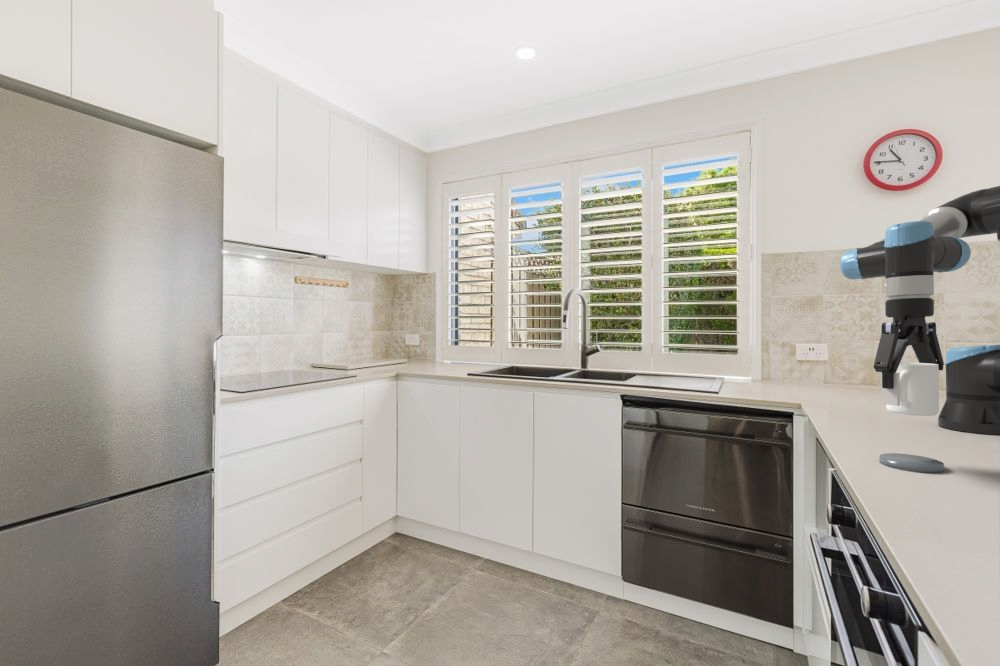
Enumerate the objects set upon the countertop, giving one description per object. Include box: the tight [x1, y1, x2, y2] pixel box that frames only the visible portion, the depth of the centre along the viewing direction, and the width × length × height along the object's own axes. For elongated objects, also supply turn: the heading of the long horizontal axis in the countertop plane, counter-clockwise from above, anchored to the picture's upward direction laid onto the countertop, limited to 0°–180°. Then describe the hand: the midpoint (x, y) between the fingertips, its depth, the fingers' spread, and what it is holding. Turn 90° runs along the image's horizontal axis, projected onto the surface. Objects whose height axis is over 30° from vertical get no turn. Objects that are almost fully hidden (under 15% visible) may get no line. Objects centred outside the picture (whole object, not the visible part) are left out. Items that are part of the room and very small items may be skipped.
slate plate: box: [879, 452, 945, 474], centre depth 96 cm, size 10×10×1 cm
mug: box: [885, 361, 940, 417], centre depth 96 cm, size 12×8×10 cm
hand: (909, 402), depth 96 cm, fingers closed on mug, 12 cm apart
